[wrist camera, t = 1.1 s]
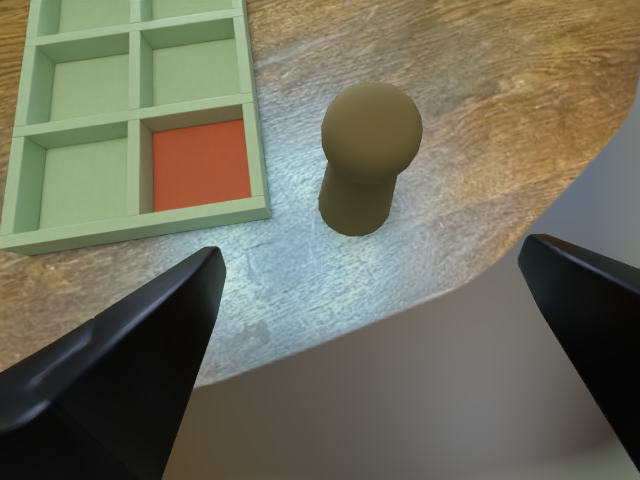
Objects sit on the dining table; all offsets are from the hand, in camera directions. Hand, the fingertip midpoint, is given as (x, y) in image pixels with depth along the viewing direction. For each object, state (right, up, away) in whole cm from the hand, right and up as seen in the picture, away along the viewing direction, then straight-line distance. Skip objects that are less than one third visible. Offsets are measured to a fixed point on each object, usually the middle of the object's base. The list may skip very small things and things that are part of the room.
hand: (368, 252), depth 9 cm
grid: (-18, +19, +20) cm, 33 cm away
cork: (+1, +3, +16) cm, 16 cm away
